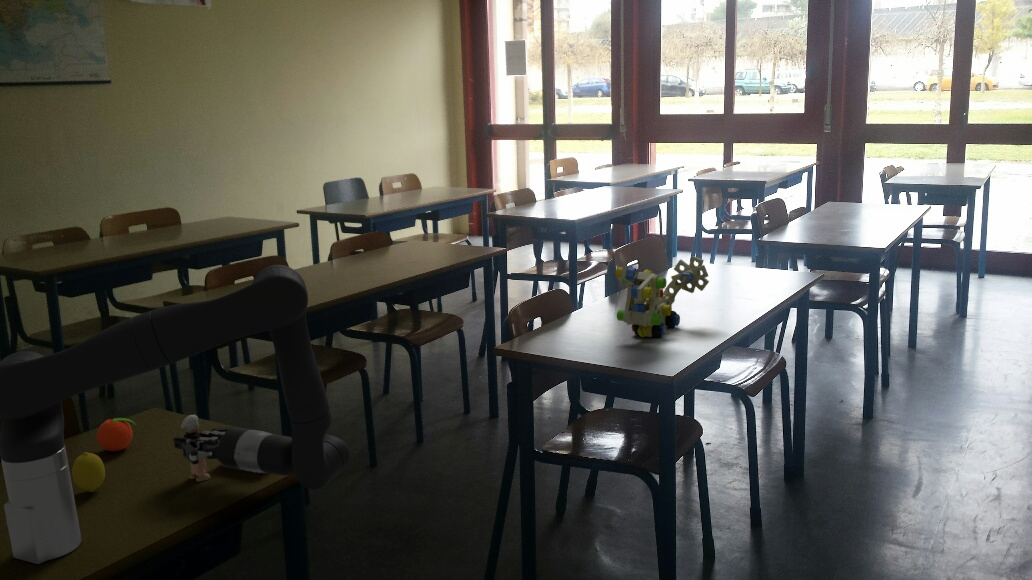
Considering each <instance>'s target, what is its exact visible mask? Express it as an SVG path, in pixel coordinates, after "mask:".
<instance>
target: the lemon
mask: <svg viewBox="0 0 1032 580" xmlns="http://www.w3.org/2000/svg"><path fill="white" fill-rule="evenodd" d="M71 474H72V479H73V482H74V485H76V486H77V487H78V488H79V489H80V490H83V491H88V492H90V493H94V492H95V490H96V489H98V488H99V487H100V486H101V485H102V484H103V482H104V480H105V478H106V468H105V465H104V462H103V460H102V459H101V458H100V456H98V455H97V454H94V453H93V452H92V453H90V452H88V451H86V452H83V453H82V454H81V455H79V456H77V458H76V459H75V460H74V462H73V465H72V472H71Z"/></svg>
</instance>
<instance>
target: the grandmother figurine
mask: <svg viewBox="0 0 1032 580" xmlns="http://www.w3.org/2000/svg"><path fill="white" fill-rule="evenodd" d="M180 429H183V430H184V429H185V430H186V432H188V433H186V432H185V434H184V435H183V437H185V438H190V439H198V438H200V437H201V436H200V435H199V434H198V433H197V432H199V430H200V424H199V417H198V416H197V415H196V414H190V415H188V416H186V417H184V419H183V421H182V423H181V425H180ZM194 448H196V444H194ZM189 463H190V462H189ZM189 466H190V473H191V474H190V475H189V479H191V480H194V479H195V481H196V482H203V481H207V480H210V479H211V475H210V474H209V473H207V472H208V467H207V463H206V460H205V458H201V459H199V463H198V464H192V463H190V465H189Z"/></svg>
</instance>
